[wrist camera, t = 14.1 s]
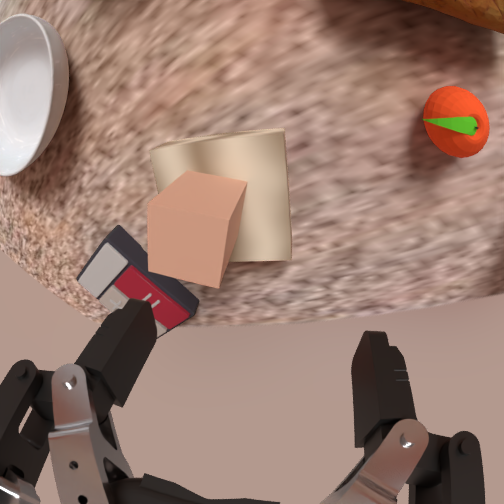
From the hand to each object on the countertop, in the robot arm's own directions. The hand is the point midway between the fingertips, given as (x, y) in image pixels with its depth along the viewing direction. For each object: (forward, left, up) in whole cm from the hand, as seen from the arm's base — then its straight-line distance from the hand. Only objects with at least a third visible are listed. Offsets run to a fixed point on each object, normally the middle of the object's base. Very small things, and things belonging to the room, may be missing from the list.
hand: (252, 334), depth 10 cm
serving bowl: (+32, -12, -22) cm, 41 cm away
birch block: (+5, +2, -22) cm, 22 cm away
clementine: (-16, -9, -22) cm, 28 cm away
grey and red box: (+18, +17, -22) cm, 33 cm away
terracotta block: (+6, +2, -17) cm, 18 cm away
